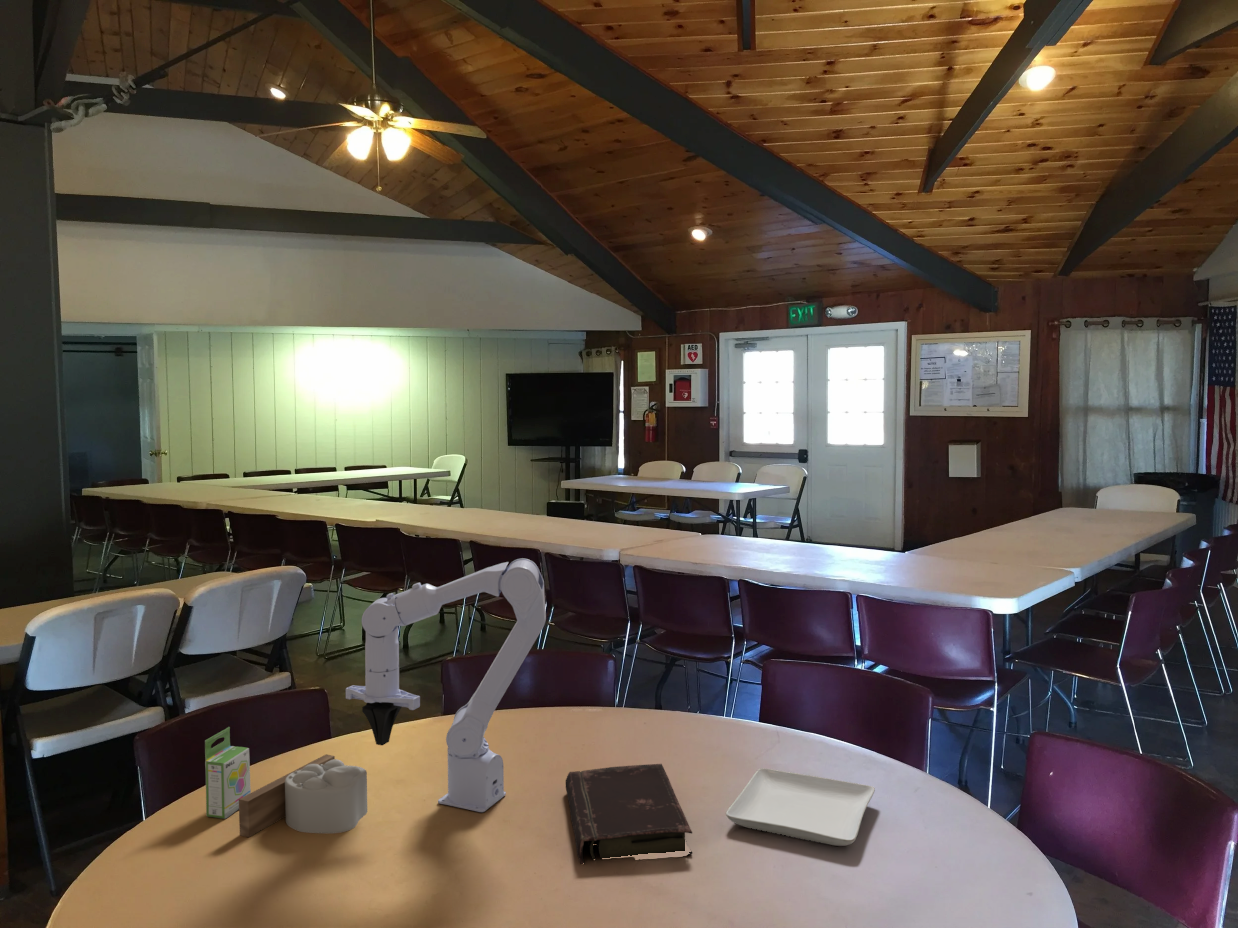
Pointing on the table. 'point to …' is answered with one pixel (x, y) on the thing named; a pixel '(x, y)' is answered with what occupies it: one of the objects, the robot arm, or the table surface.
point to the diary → (625, 811)
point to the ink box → (225, 776)
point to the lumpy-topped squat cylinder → (326, 797)
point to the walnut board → (267, 803)
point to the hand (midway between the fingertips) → (382, 742)
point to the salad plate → (802, 806)
